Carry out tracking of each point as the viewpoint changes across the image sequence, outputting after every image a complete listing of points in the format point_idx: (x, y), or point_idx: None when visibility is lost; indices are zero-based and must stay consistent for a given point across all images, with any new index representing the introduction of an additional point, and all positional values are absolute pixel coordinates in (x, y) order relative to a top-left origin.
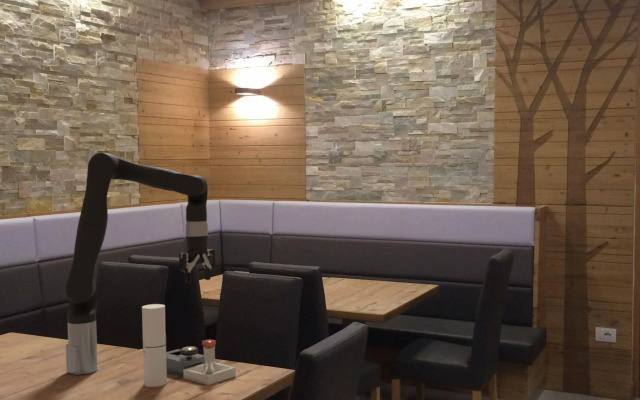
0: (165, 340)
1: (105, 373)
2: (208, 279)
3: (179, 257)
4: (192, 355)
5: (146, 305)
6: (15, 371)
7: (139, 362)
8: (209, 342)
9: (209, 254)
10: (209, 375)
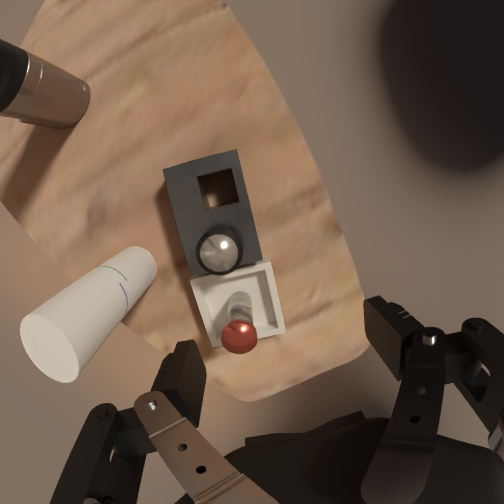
0: (120, 320)
1: (88, 139)
2: (367, 334)
3: (55, 498)
4: (236, 234)
5: (29, 320)
6: None
7: (171, 94)
8: (234, 349)
9: (495, 445)
10: (216, 346)
